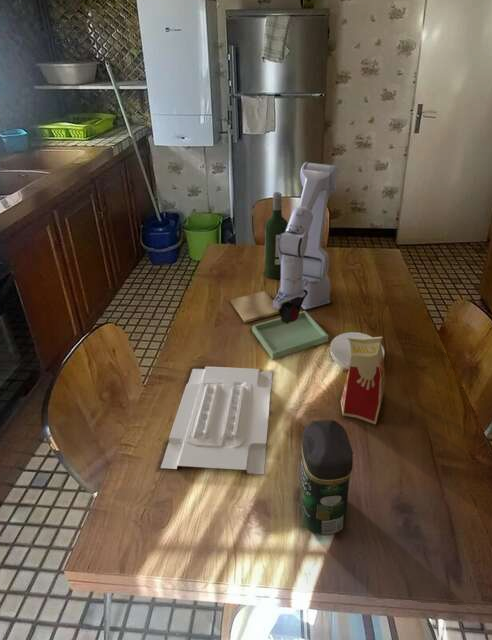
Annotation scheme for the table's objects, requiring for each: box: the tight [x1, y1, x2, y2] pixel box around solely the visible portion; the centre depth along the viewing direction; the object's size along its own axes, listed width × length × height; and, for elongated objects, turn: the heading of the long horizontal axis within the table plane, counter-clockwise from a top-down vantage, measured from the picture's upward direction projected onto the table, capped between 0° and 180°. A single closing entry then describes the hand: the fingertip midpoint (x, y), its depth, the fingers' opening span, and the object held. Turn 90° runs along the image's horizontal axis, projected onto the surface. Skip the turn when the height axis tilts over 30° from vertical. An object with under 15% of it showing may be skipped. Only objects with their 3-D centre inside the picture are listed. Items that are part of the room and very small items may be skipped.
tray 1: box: [160, 366, 274, 475], centre depth 97 cm, size 20×28×4 cm
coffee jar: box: [299, 419, 354, 536], centre depth 74 cm, size 10×8×19 cm
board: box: [230, 290, 280, 324], centre depth 135 cm, size 12×12×1 cm
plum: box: [290, 306, 299, 322], centre depth 119 cm, size 5×5×5 cm
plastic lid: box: [329, 331, 385, 371], centre depth 115 cm, size 14×14×2 cm
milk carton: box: [340, 336, 386, 425], centre depth 96 cm, size 9×9×20 cm
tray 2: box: [251, 310, 330, 360], centre depth 122 cm, size 17×13×2 cm
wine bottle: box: [264, 191, 289, 280], centre depth 147 cm, size 8×8×30 cm
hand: (290, 317), depth 120 cm, fingers closed on plum, 4 cm apart
